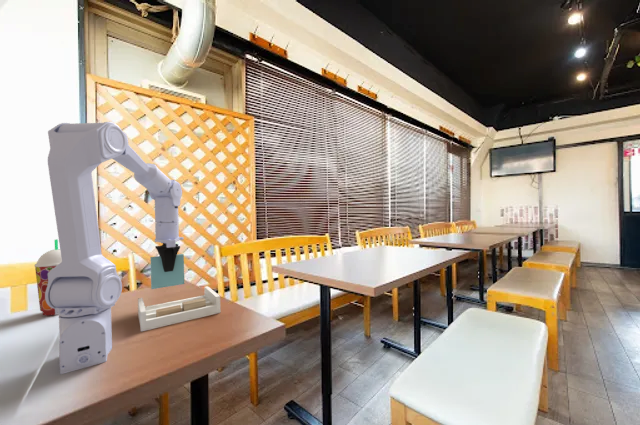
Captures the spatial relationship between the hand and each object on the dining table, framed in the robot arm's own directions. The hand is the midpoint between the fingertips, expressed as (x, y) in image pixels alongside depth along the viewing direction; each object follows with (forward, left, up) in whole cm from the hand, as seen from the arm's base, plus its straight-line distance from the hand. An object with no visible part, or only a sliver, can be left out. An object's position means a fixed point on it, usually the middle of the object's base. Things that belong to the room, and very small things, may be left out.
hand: (168, 270), depth 75 cm
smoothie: (+16, +25, -11) cm, 32 cm away
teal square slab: (0, 0, -4) cm, 4 cm away
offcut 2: (-13, -4, -10) cm, 17 cm away
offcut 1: (-13, +2, -10) cm, 16 cm away
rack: (-10, -1, -10) cm, 14 cm away
